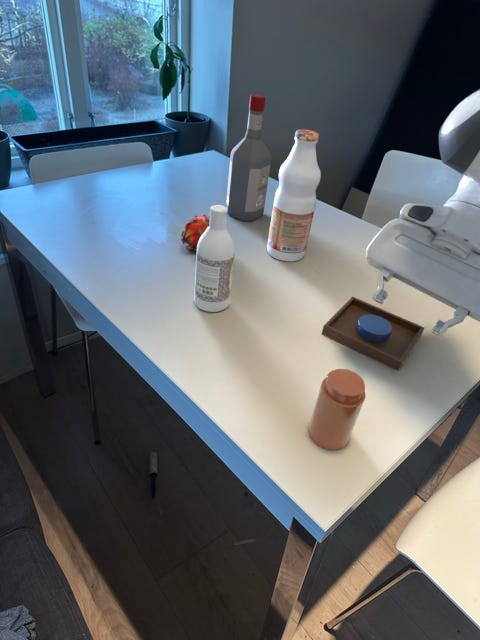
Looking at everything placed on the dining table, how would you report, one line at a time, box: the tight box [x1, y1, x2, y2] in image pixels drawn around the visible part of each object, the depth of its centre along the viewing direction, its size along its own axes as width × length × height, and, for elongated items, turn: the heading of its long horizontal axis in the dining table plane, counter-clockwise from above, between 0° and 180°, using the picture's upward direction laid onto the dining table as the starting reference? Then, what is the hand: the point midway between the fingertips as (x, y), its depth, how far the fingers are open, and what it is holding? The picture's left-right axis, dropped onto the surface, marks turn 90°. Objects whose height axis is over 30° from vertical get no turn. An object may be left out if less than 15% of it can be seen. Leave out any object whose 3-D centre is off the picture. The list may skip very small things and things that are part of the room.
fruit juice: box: [266, 129, 322, 262], centre depth 100 cm, size 9×9×28 cm
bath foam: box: [193, 204, 235, 313], centre depth 83 cm, size 7×7×20 cm
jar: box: [307, 368, 366, 451], centre depth 62 cm, size 6×6×11 cm
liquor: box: [225, 93, 272, 222], centre depth 115 cm, size 9×9×30 cm
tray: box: [321, 296, 425, 372], centre depth 85 cm, size 15×13×2 cm
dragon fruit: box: [180, 213, 210, 251], centre depth 104 cm, size 8×8×12 cm
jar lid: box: [357, 315, 392, 343], centre depth 85 cm, size 6×6×2 cm
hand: (405, 317), depth 64 cm, fingers open, 8 cm apart
